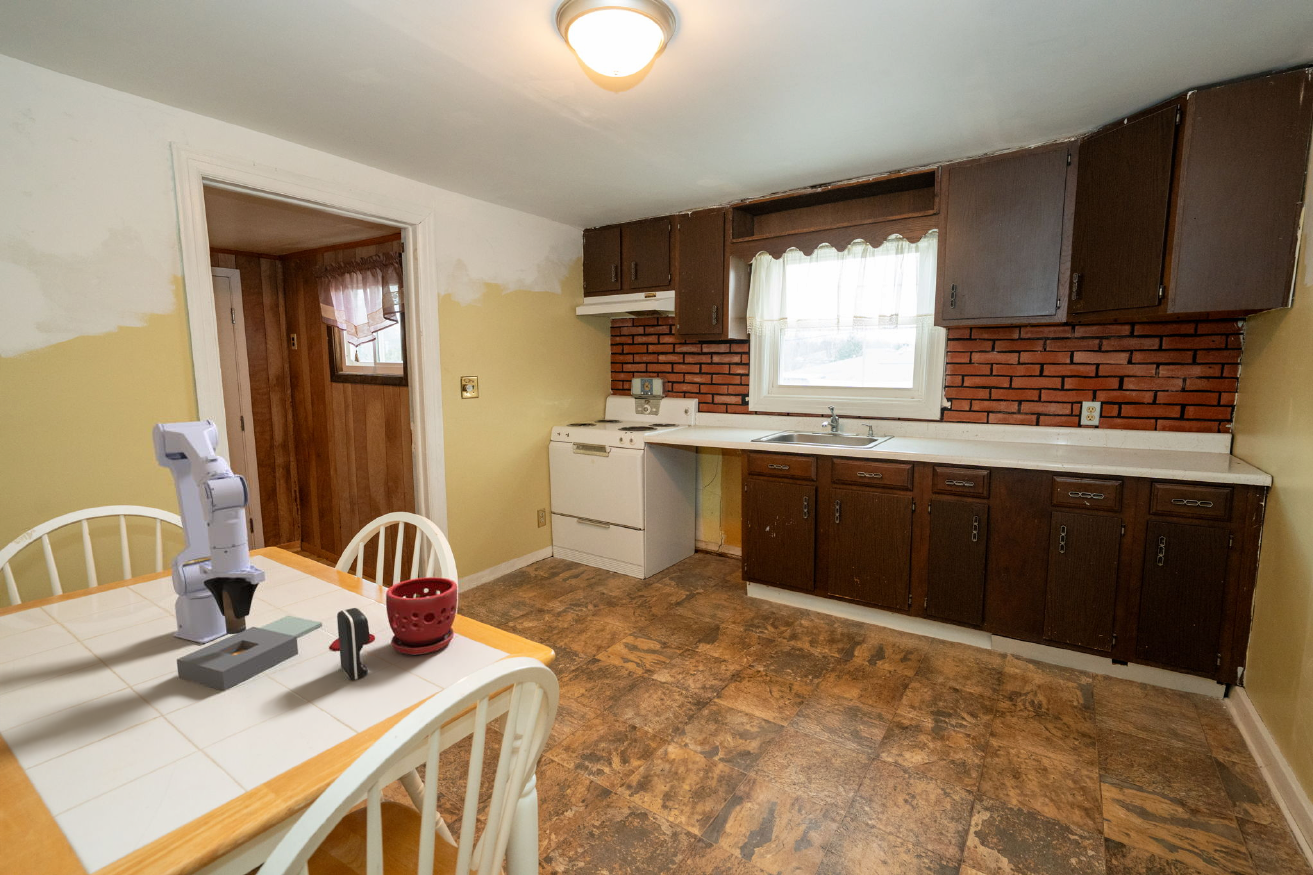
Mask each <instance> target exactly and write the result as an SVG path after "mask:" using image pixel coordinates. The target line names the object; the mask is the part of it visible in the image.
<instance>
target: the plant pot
mask: <svg viewBox="0 0 1313 875" xmlns="http://www.w3.org/2000/svg"><path fill="white" fill-rule="evenodd" d="M425 589H427V591H426V592H425V591H424V590H425ZM437 591H438V592H440V593H439V594H438V593H437ZM416 594H417V595H419V597H417V598H416V597H414V596H415V595H416ZM385 596H386V598H385V605H386V615H387V619H388V620H387V621H388V624H389V627H390V629H391V631H392V633H393V636H392V638H391V645H392V647H393V648H394V649H395V650H396V651H397V652H399V653H402V654H406V655H412V656H417V655H423V654H424V655H425V654H428V653H433V652H436V651H438V650H441V649H443V648H444V647H445V646H447V645H448V644H449V643H450V642H451V641H452V640H453V638H454V635H455V632H454V630H453V629H454V628H452V626H453V623H454V621H455V618H456V614H457V609H458V585H457V583H456V582H455V581H454V580H453V579H450V578H445V577H437V576H436V577H434V576H432V577H431V576H430V577H429V576H428V577H427V576H426V577H418V578H412V579H407V580H404V581H400V582H398V583H396V584H393V585H392V586H390V587H389V588H388V589H387V590H386V595H385Z"/></svg>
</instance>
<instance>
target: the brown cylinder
mask: <svg viewBox="0 0 1313 875" xmlns="http://www.w3.org/2000/svg"><path fill="white" fill-rule="evenodd" d="M222 594H223V604H224V614H225V624H226V633H227V634H226V635H235V634H237V633H240V632H243V631H245V630H246V629H247V623H246V616H245V617H243V618H240V619H236V618H235V616H234V612H233V607H232V603H231V600H230V597H229V595H228V593H227V591H226V590H225V589H223V590H222Z"/></svg>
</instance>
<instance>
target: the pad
mask: <svg viewBox="0 0 1313 875" xmlns="http://www.w3.org/2000/svg"><path fill="white" fill-rule="evenodd" d="M322 627H323V622H320V621H316V620H311V619H306V618H301V617H297V616H292V615H286V616H284V617H282V618H279V619H277V620H275V621H274V620H273V621H272V622H270V623H268V624H265V625H263V626H261V627H260V628H261V629H266V630H270V631H275V632H279V633H283V634H288V635H292V636H297V639H298V638H301V637H302V636H305V635H307V634H309V633H311V632H313V631H316V630H318V629H320V628H322Z"/></svg>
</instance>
